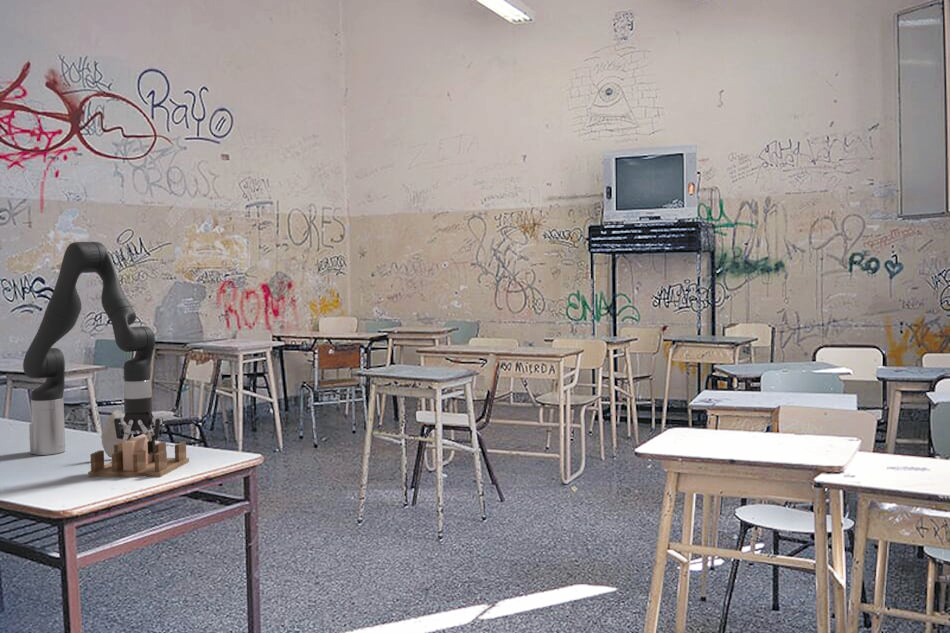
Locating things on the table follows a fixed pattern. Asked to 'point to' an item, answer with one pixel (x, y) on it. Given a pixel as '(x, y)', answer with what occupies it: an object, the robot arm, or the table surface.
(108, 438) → the stone tool
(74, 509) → the table surface
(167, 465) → the drying rack
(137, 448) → the peach rectangular block
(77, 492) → the table surface
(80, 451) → the table surface
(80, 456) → the table surface
